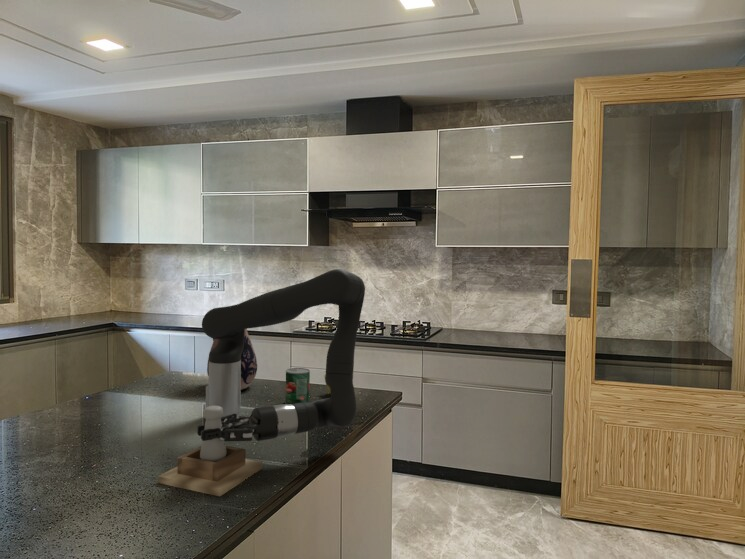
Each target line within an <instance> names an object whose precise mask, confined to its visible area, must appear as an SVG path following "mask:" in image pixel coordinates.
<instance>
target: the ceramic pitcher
mask: <svg viewBox="0 0 745 559" xmlns="http://www.w3.org/2000/svg"><path fill="white" fill-rule="evenodd" d="M212 341H213V342H212V344H211V347H210V350H209V352H210V351H211V350H212V349H213V348H215V347H216V345H217V344H218V342H219V339H214V338H212ZM256 356H257V355H256V353H255V350H254V347H253V343H252V341H251V337H250V336H249V333H248V328H247V329H245V334H244V348H243V352H242V354H241V391H242V390H244V389H247V388H248V387H249V386H250V385H251V384H252V383H253V381H254V380H255V378H256V375H257V372H258V360H257V357H256ZM206 371H207V372H206V374H207V377H209V357H207V367H206Z"/></svg>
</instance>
